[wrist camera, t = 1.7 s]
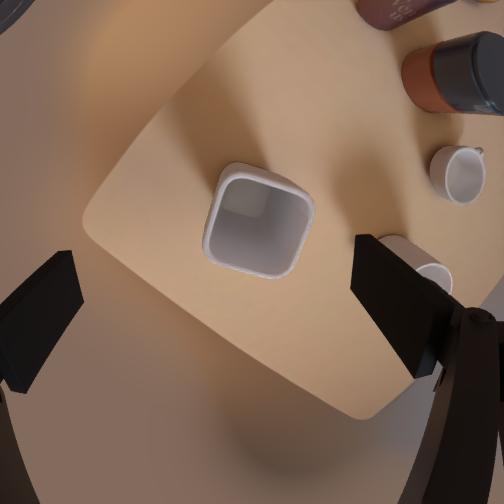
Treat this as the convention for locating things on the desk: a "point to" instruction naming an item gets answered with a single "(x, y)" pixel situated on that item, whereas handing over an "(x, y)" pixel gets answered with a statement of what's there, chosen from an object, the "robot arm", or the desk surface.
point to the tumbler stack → (458, 75)
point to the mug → (419, 260)
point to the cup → (257, 222)
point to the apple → (487, 1)
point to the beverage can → (396, 11)
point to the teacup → (458, 173)
